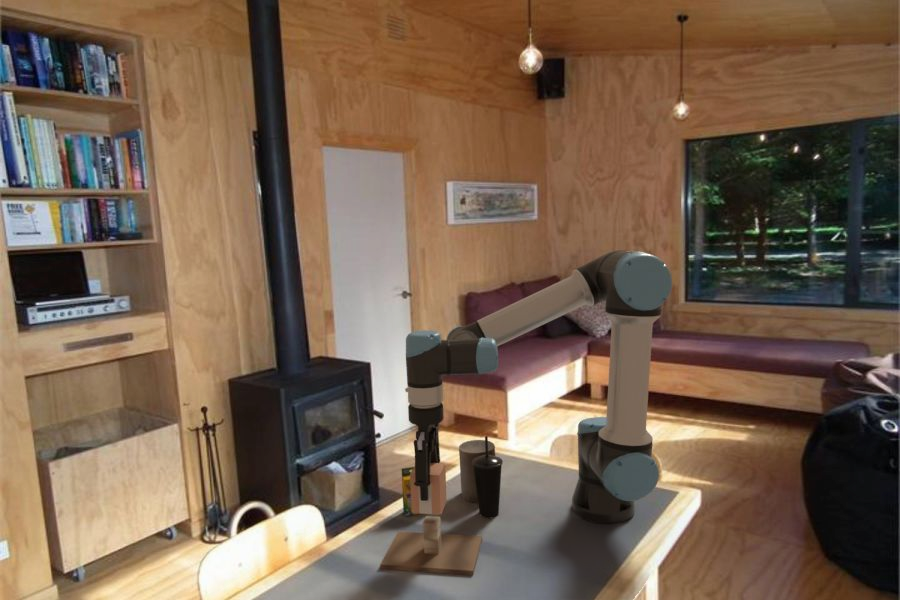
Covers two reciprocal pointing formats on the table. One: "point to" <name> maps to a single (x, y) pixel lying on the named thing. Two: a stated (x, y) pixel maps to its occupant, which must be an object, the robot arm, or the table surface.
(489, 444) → the pillar candle
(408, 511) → the crayon box
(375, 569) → the table surface
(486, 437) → the drinking cup
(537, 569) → the table surface
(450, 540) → the post board
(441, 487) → the tall salmon block
